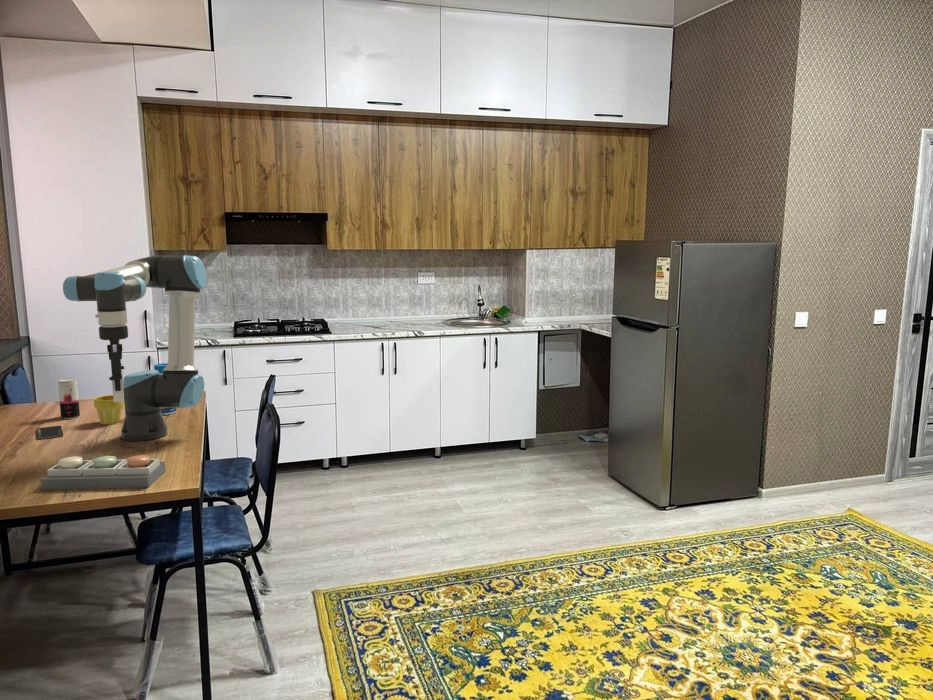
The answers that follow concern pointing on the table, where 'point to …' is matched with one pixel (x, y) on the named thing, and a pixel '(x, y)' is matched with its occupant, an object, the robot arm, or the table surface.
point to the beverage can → (68, 398)
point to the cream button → (70, 462)
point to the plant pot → (108, 409)
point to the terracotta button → (138, 461)
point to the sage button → (104, 462)
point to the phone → (49, 432)
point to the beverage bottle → (160, 369)
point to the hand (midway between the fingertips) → (118, 396)
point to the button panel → (103, 476)
